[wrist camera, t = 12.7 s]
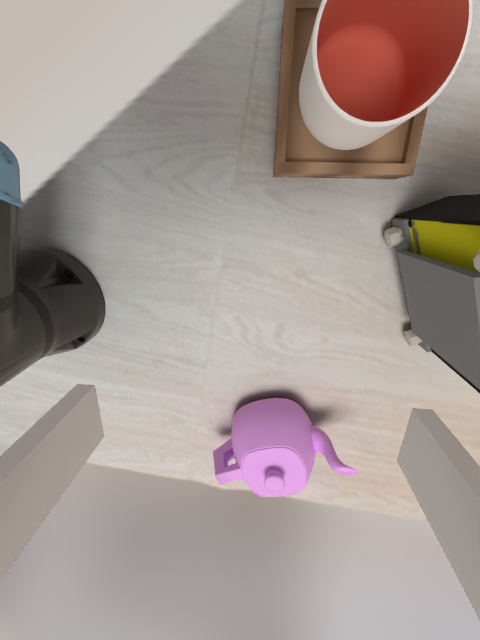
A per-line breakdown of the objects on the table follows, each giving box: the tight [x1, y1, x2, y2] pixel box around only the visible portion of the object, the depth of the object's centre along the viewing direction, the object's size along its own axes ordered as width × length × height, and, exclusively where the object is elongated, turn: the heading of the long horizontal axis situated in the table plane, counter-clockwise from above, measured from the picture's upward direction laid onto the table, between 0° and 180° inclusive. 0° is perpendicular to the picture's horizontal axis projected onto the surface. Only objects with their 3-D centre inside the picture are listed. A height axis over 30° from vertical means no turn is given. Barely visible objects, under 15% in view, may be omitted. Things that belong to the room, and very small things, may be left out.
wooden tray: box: [273, 0, 428, 179], centre depth 29 cm, size 14×14×4 cm
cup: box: [299, 0, 473, 150], centre depth 23 cm, size 10×10×10 cm
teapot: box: [213, 398, 357, 497], centre depth 43 cm, size 13×20×11 cm, turn 105°
